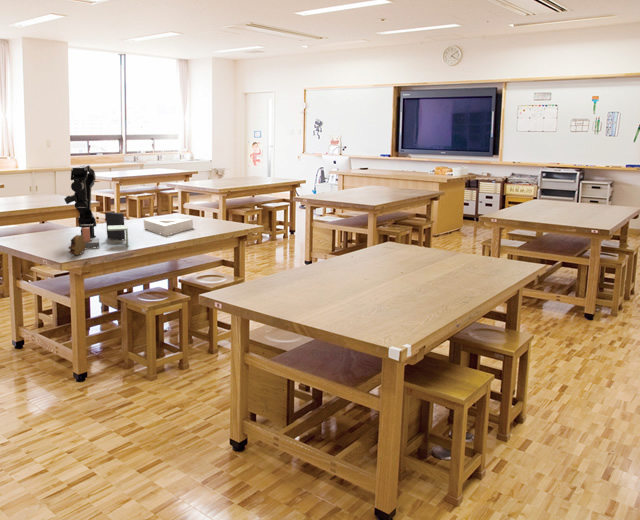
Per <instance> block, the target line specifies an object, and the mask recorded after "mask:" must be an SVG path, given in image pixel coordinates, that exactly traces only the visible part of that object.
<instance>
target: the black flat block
mask: <svg viewBox="0 0 640 520" xmlns="http://www.w3.org/2000/svg"><path fill="white" fill-rule="evenodd" d="M124 215H125V214H124V213H123V212H112V211H108V212H105V213H104V217H105V221H106V236H107V237H106V238H107V239H108V238H110V239H109V240H116V239H119V240H118V241H123V240H122V239H124V240H126V230H116V231H108V226H114V225H125V217H124Z"/></svg>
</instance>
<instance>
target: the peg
mask: <svg viewBox="0 0 640 520" xmlns="http://www.w3.org/2000/svg"><path fill="white" fill-rule="evenodd" d="M82 233H83V236H84V240H83V242H91V241H90V239H91V238H90V227H86V228H82Z"/></svg>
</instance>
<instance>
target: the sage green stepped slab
mask: <svg viewBox="0 0 640 520" xmlns="http://www.w3.org/2000/svg"><path fill="white" fill-rule="evenodd" d="M116 230H125V243H126V247H127V246H128V247H129V233H128V232H129V231H128V225H127V224H124V225H114V226H108V231H116Z"/></svg>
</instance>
